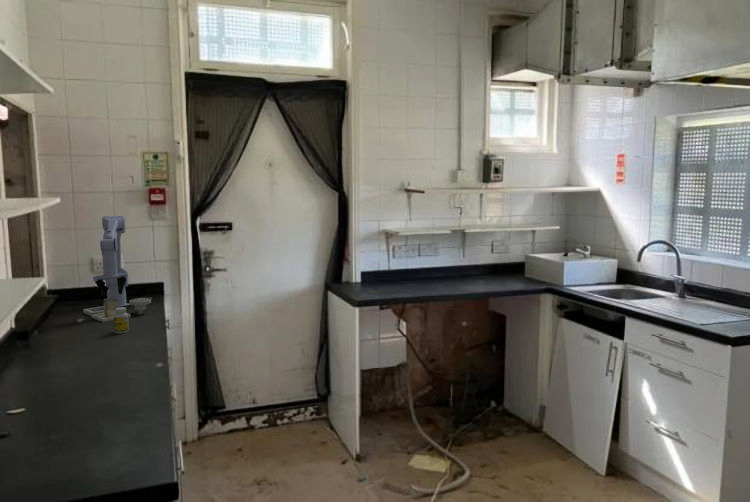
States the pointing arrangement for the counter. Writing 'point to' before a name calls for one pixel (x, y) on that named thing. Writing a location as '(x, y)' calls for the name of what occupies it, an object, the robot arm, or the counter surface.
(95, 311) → the holder
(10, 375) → the counter surface
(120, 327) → the supplement bottle
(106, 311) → the peg
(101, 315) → the tray
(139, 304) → the showerhead
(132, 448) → the counter surface
